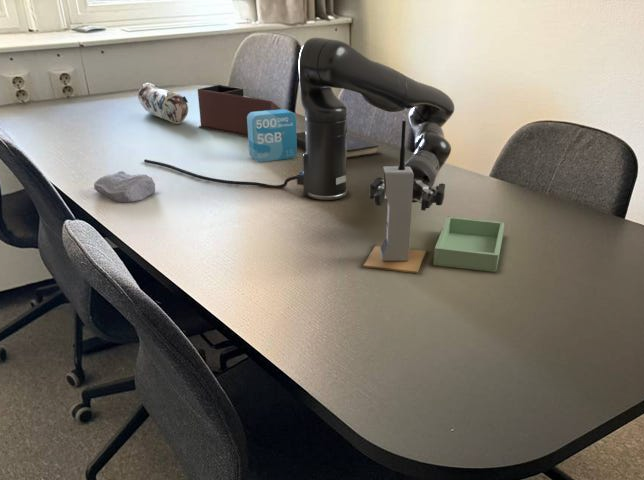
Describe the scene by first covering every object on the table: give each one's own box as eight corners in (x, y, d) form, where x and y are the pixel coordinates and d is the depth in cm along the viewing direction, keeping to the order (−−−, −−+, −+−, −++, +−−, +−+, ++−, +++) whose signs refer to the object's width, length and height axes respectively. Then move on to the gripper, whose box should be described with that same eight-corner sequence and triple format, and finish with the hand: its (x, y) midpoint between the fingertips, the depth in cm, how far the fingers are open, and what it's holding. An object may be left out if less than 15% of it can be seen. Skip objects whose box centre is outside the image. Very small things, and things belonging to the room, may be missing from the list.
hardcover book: (333, 135, 211) (333, 127, 210) (378, 153, 195) (378, 145, 194) (286, 142, 203) (286, 134, 202) (329, 161, 188) (329, 153, 186)
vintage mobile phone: (380, 254, 134) (385, 117, 121) (406, 253, 134) (413, 118, 121) (381, 261, 130) (387, 122, 118) (408, 261, 131) (416, 123, 118)
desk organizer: (221, 121, 224) (218, 83, 218) (295, 135, 211) (294, 96, 205) (198, 127, 216) (194, 88, 210) (273, 142, 203) (271, 101, 197)
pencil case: (191, 122, 221) (188, 89, 216) (166, 126, 217) (162, 92, 212) (162, 109, 236) (159, 78, 231) (138, 112, 232) (133, 81, 226)
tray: (433, 264, 131) (434, 248, 129) (446, 231, 146) (447, 216, 144) (496, 272, 129) (498, 255, 127) (502, 237, 144) (504, 222, 142)
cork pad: (363, 267, 129) (363, 265, 129) (375, 247, 138) (375, 245, 137) (417, 273, 127) (417, 271, 127) (426, 252, 136) (426, 250, 136)
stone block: (132, 211, 156) (160, 190, 163) (125, 192, 153) (154, 171, 160) (92, 204, 161) (120, 184, 167) (84, 185, 157) (113, 165, 164)
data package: (255, 162, 185) (252, 115, 179) (249, 158, 188) (246, 112, 182) (297, 158, 190) (296, 111, 184) (291, 153, 193) (289, 108, 187)
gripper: (449, 199, 145) (436, 226, 131) (381, 192, 148) (362, 218, 134) (452, 163, 141) (440, 186, 127) (382, 156, 144) (363, 179, 130)
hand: (400, 202), depth 131 cm, fingers open, 8 cm apart
